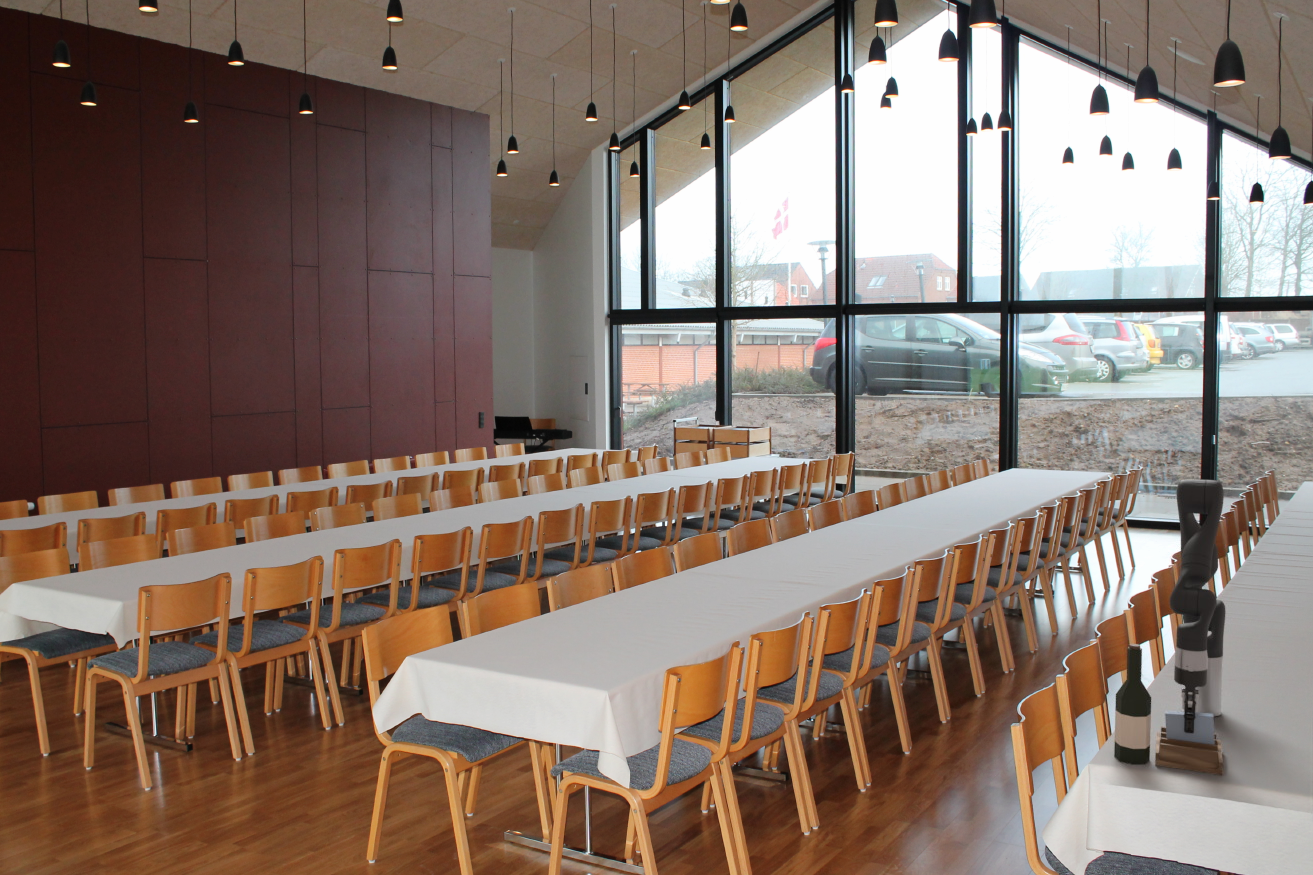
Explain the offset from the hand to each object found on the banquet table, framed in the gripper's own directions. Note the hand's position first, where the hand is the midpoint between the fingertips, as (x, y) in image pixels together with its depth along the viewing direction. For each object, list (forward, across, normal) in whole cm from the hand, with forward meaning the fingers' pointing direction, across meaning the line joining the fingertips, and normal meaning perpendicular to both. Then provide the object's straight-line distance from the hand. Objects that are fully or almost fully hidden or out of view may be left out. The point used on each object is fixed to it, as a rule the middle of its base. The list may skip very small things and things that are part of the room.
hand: (1188, 730), depth 270 cm
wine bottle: (+8, +6, -13) cm, 16 cm away
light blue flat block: (+5, 0, 0) cm, 5 cm away
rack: (+7, 0, 0) cm, 7 cm away
